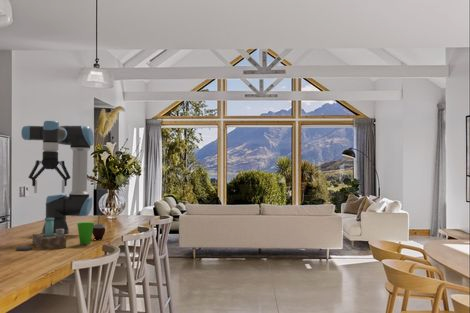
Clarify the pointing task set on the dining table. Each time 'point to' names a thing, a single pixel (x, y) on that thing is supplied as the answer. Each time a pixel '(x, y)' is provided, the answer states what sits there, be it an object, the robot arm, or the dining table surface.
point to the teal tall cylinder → (49, 227)
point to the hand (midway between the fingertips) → (49, 192)
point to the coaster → (23, 248)
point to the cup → (85, 232)
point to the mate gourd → (98, 230)
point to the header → (50, 240)
